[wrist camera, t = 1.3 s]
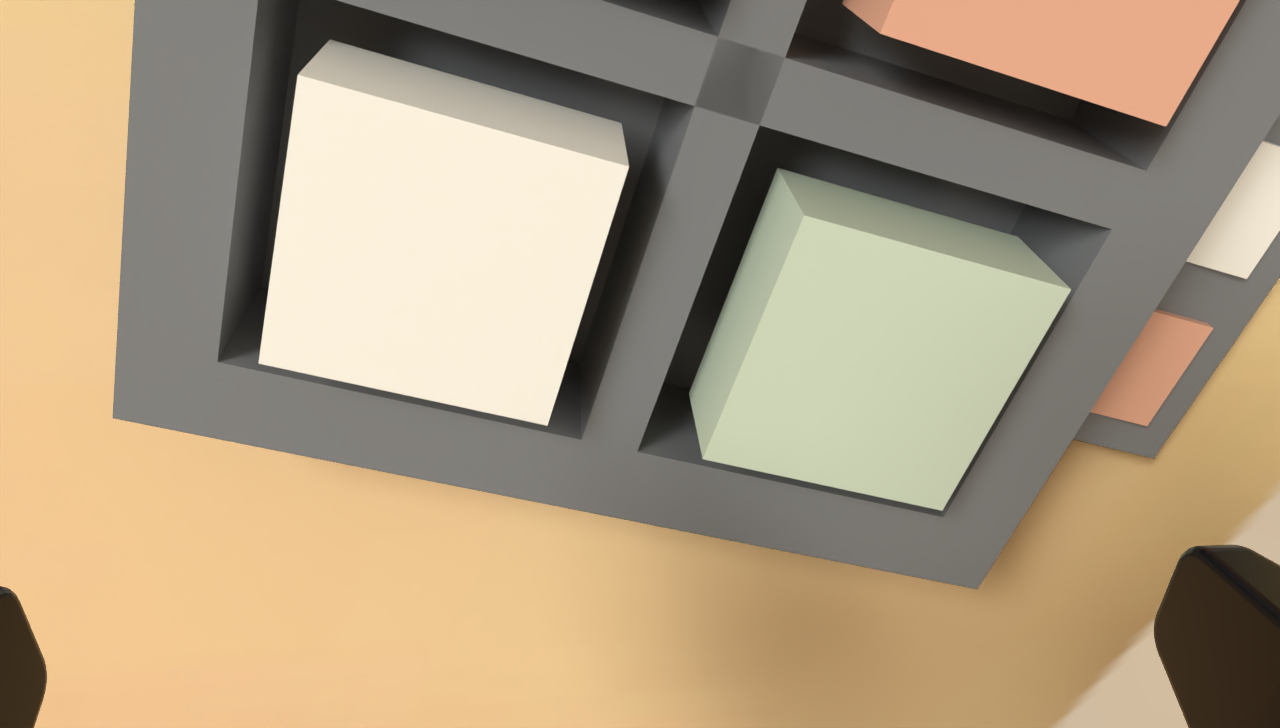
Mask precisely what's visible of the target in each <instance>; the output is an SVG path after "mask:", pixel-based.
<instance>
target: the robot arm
mask: <svg viewBox="0 0 1280 728" xmlns="http://www.w3.org/2000/svg"><path fill="white" fill-rule="evenodd" d="M1154 638H1155V643H1156V647H1157V650H1158V653H1159V656H1160V658H1161V661H1162V663H1163V665H1164V668H1165V670H1166V673H1167V675H1168V678H1169V680H1170V683H1171V685H1172V688H1173V690H1174V693H1175V695H1176V698H1177V700H1178V703H1179V705H1180V707H1181V710H1182V712H1183V715H1184V717H1185V720H1186V722H1187V724H1188V727H1189V728H1280V565H1278V564H1276V563H1274V562H1273V561H1271V560H1269V559H1267V558H1265V557H1264V556H1262V555H1260V554H1258V553H1256V552H1255V551H1253V550H1251V549H1249V548H1246V547H1243V546H1238V545H1213V546H1195V547H1192V548H1189V549H1188V550H1187V551H1186V552H1185V553H1184V554H1182V555H1181V557H1180V559H1179V561H1178V563H1177V566H1176V568H1175V570H1174V573H1173V575H1172V578H1171V580H1170V583H1169V585H1168V588H1167V590H1166V593H1165V595H1164V597H1163V600H1162V602H1161V605H1160V607H1159V610H1158V612H1157V615H1156V618H1155V623H1154ZM46 683H47V671H46V665H45V661H44V658H43V655H42V653H41V651H40V648H39V646H38V643H37V641H36V639H35V636H34V634H33V632H32V629H31V627H30V624H29V622H28V620H27V617H26V615H25V613H24V610H23V608H22V606H21V603H20V601H19V599H18V597H17V596H16V594H15V593H13V592H12V591H11V590H10V589H8V588H6V587H1V586H0V728H34V726H35V723H36V720H37V717H38V713H39V710H40V707H41V704H42V701H43V698H44V694H45V689H46Z"/></svg>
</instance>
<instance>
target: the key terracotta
mask: <svg viewBox="0 0 1280 728" xmlns="http://www.w3.org/2000/svg"><path fill="white" fill-rule="evenodd" d="M1239 1H1240V0H843V2H842V4H843V5H844V6H845V7H847V8H848V9H849V10H851V11H852V12H853V13H854V14H856V15H857V16H858V17H859V18H861V19H862V20H863V21H865V22H866V23H867V24H868V25H870V26H871V27H872V28H874V29H875V30H876V31H877V32H879V33H880V34H883V35H886V36H889V37H892V38H895V39H898V40H901V41H904V42H907V43H910V44H914V45H917V46H920V47H923V48H926V49H929V50H932V51H935V52H938V53H941V54H944V55H947V56H950V57H953V58H957V59H960V60H963V61H966V62H969V63H972V64H975V65H978V66H981V67H984V68H987V69H990V70H993V71H996V72H1000V73H1003V74H1006V75H1009V76H1012V77H1015V78H1018V79H1021V80H1024V81H1027V82H1030V83H1033V84H1036V85H1039V86H1043V87H1046V88H1049V89H1052V90H1055V91H1058V92H1061V93H1064V94H1067V95H1070V96H1073V97H1076V98H1079V99H1082V100H1085V101H1089V102H1092V103H1095V104H1098V105H1101V106H1104V107H1107V108H1110V109H1113V110H1116V111H1119V112H1122V113H1125V114H1128V115H1132V116H1135V117H1138V118H1141V119H1144V120H1147V121H1150V122H1153V123H1156V124H1159V125H1162V126H1165V127H1166V126H1167V124H1168V123H1169V121H1170V119H1171V118H1172V116H1173V114H1174V112H1175V111H1176V109H1177V107H1178V105H1179V104H1180V102H1181V100H1182V99H1183V97H1184V95H1185V93H1186V92H1187V90H1188V88H1189V87H1190V85H1191V83H1192V81H1193V80H1194V78H1195V76H1196V75H1197V73H1198V71H1199V69H1200V68H1201V66H1202V64H1203V63H1204V61H1205V59H1206V57H1207V56H1208V54H1209V52H1210V51H1211V49H1212V47H1213V45H1214V44H1215V42H1216V40H1217V39H1218V37H1219V35H1220V33H1221V32H1222V30H1223V28H1224V27H1225V25H1226V23H1227V21H1228V20H1229V18H1230V16H1231V15H1232V13H1233V11H1234V9H1235V8H1236V6H1237V4H1238V3H1239Z"/></svg>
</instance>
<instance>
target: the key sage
mask: <svg viewBox="0 0 1280 728" xmlns="http://www.w3.org/2000/svg"><path fill="white" fill-rule="evenodd" d="M1070 291H1071V289H1070V288H1069V287H1068V286H1067V285H1066V284H1065V283H1064V282H1063V281H1062V280H1061V279H1060V278H1059V277H1058V276H1057V275H1056V274H1055V273H1054V272H1053V271H1052V270H1051V269H1050V268H1049V267H1048V266H1047V265H1046V264H1045V263H1044V262H1043V261H1042V260H1041V259H1040V258H1039V257H1038V256H1037V255H1036V254H1035V253H1034V252H1033V251H1032V250H1031V249H1030V248H1029V247H1028V246H1027V245H1026V244H1025V243H1024V242H1023V241H1022V240H1021V239H1020V238H1019V237H1017V236H1014V235H1010V234H1007V233H1003V232H1000V231H996V230H993V229H989V228H986V227H982V226H979V225H975V224H972V223H968V222H965V221H961V220H958V219H954V218H951V217H947V216H944V215H940V214H937V213H933V212H930V211H926V210H923V209H920V208H916V207H913V206H909V205H906V204H902V203H899V202H895V201H892V200H888V199H885V198H881V197H878V196H874V195H871V194H867V193H864V192H860V191H857V190H853V189H850V188H846V187H843V186H839V185H836V184H832V183H829V182H825V181H822V180H818V179H815V178H811V177H808V176H804V175H801V174H797V173H794V172H790V171H787V170H784V169H780V168H777V170H776V173H775V175H774V178H773V181H772V183H771V186H770V188H769V191H768V193H767V196H766V198H765V201H764V203H763V206H762V209H761V211H760V214H759V216H758V219H757V221H756V224H755V226H754V229H753V231H752V234H751V237H750V239H749V242H748V244H747V247H746V249H745V252H744V254H743V257H742V259H741V262H740V265H739V267H738V270H737V272H736V275H735V277H734V280H733V282H732V285H731V287H730V290H729V293H728V295H727V298H726V300H725V303H724V305H723V308H722V310H721V313H720V315H719V318H718V321H717V323H716V326H715V328H714V331H713V333H712V336H711V338H710V341H709V343H708V346H707V349H706V351H705V354H704V356H703V359H702V361H701V364H700V366H699V369H698V371H697V374H696V377H695V379H694V382H693V384H692V387H691V389H690V392H689V396H690V401H691V406H692V411H693V416H694V420H695V425H696V430H697V435H698V439H699V444H700V449H701V454H702V459H704V460H709V461H714V462H718V463H723V464H727V465H732V466H737V467H741V468H746V469H751V470H755V471H760V472H765V473H769V474H774V475H779V476H783V477H788V478H792V479H797V480H802V481H806V482H811V483H816V484H820V485H825V486H830V487H834V488H839V489H844V490H848V491H853V492H857V493H862V494H867V495H871V496H876V497H881V498H885V499H890V500H895V501H899V502H904V503H909V504H913V505H918V506H922V507H927V508H932V509H936V510H941V511H942V510H943V509H944V507H945V505H946V504H947V502H948V500H949V498H950V497H951V495H952V493H953V492H954V490H955V488H956V486H957V485H958V483H959V481H960V480H961V478H962V476H963V474H964V473H965V471H966V469H967V468H968V466H969V464H970V462H971V461H972V459H973V457H974V456H975V454H976V452H977V450H978V449H979V447H980V445H981V444H982V442H983V440H984V438H985V437H986V435H987V433H988V431H989V430H990V428H991V426H992V425H993V423H994V421H995V419H996V418H997V416H998V414H999V413H1000V411H1001V409H1002V407H1003V406H1004V404H1005V402H1006V401H1007V399H1008V397H1009V395H1010V394H1011V392H1012V390H1013V389H1014V387H1015V385H1016V383H1017V382H1018V380H1019V378H1020V377H1021V375H1022V373H1023V371H1024V370H1025V368H1026V366H1027V365H1028V363H1029V361H1030V359H1031V358H1032V356H1033V354H1034V353H1035V351H1036V349H1037V347H1038V346H1039V344H1040V342H1041V341H1042V339H1043V337H1044V335H1045V334H1046V332H1047V330H1048V329H1049V327H1050V325H1051V323H1052V322H1053V320H1054V318H1055V317H1056V315H1057V313H1058V311H1059V310H1060V308H1061V306H1062V305H1063V303H1064V301H1065V299H1066V298H1067V296H1068V294H1069V293H1070Z"/></svg>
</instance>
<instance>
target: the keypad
mask: <svg viewBox="0 0 1280 728" xmlns="http://www.w3.org/2000/svg"><path fill="white" fill-rule="evenodd" d="M842 2H843V0H135V11H134V29H133V48H132V67H131V86H130V104H129V123H128V142H127V160H126V179H125V198H124V216H123V235H122V254H121V273H120V291H119V310H118V329H117V347H116V366H115V385H114V404H113V418H115V419H120V420H125V421H130V422H135V423H140V424H145V425H150V426H155V427H160V428H165V429H170V430H175V431H180V432H185V433H190V434H195V435H200V436H205V437H210V438H216V439H221V440H226V441H231V442H236V443H241V444H246V445H251V446H256V447H261V448H266V449H271V450H276V451H281V452H286V453H291V454H296V455H301V456H306V457H311V458H316V459H322V460H327V461H332V462H337V463H342V464H347V465H352V466H357V467H362V468H367V469H372V470H377V471H382V472H387V473H392V474H397V475H402V476H407V477H412V478H417V479H423V480H428V481H433V482H438V483H443V484H448V485H453V486H458V487H463V488H468V489H473V490H478V491H483V492H488V493H493V494H498V495H503V496H508V497H513V498H518V499H523V500H529V501H534V502H539V503H544V504H549V505H554V506H559V507H564V508H569V509H574V510H579V511H584V512H589V513H594V514H599V515H604V516H609V517H614V518H619V519H624V520H630V521H635V522H640V523H645V524H650V525H655V526H660V527H665V528H670V529H675V530H680V531H685V532H690V533H695V534H700V535H705V536H710V537H715V538H720V539H725V540H730V541H736V542H741V543H746V544H751V545H756V546H761V547H766V548H771V549H776V550H781V551H786V552H791V553H796V554H801V555H806V556H811V557H816V558H821V559H826V560H831V561H836V562H842V563H847V564H852V565H857V566H862V567H867V568H872V569H877V570H882V571H887V572H892V573H897V574H902V575H907V576H912V577H917V578H922V579H927V580H932V581H937V582H943V583H948V584H953V585H958V586H963V587H968V588H973V589H978V587H979V586H980V584H981V583H982V581H983V579H984V578H985V576H986V575H987V573H988V572H989V570H990V568H991V567H992V565H993V564H994V562H995V561H996V559H997V557H998V556H999V554H1000V553H1001V551H1002V550H1003V548H1004V546H1005V545H1006V543H1007V542H1008V540H1009V539H1010V537H1011V535H1012V534H1013V532H1014V531H1015V529H1016V528H1017V526H1018V524H1019V523H1020V521H1021V520H1022V518H1023V517H1024V515H1025V513H1026V512H1027V510H1028V509H1029V507H1030V506H1031V504H1032V502H1033V501H1034V499H1035V498H1036V496H1037V495H1038V493H1039V491H1040V490H1041V488H1042V487H1043V485H1044V484H1045V482H1046V480H1047V479H1048V477H1049V476H1050V474H1051V473H1052V471H1053V469H1054V468H1055V466H1056V465H1057V463H1058V462H1059V460H1060V458H1061V457H1062V455H1063V454H1064V452H1065V451H1066V449H1067V447H1068V446H1069V444H1070V443H1071V441H1072V440H1073V439H1074V440H1078V441H1082V442H1086V443H1091V444H1095V445H1099V446H1103V447H1107V448H1111V449H1116V450H1120V451H1124V452H1128V453H1132V454H1136V455H1141V456H1145V457H1149V458H1153V459H1154V457H1155V456H1156V455H1157V453H1158V452H1159V450H1160V449H1161V447H1162V446H1163V445H1164V443H1165V442H1166V440H1167V439H1168V437H1169V436H1170V434H1171V433H1172V432H1173V430H1174V429H1175V427H1176V426H1177V424H1178V423H1179V421H1180V420H1181V419H1182V417H1183V416H1184V414H1185V413H1186V411H1187V410H1188V408H1189V407H1190V406H1191V404H1192V403H1193V401H1194V400H1195V398H1196V397H1197V396H1198V394H1199V393H1200V391H1201V390H1202V388H1203V387H1204V385H1205V384H1206V383H1207V381H1208V380H1209V378H1210V377H1211V375H1212V374H1213V372H1214V371H1215V370H1216V368H1217V367H1218V365H1219V364H1220V362H1221V361H1222V359H1223V358H1224V357H1225V355H1226V354H1227V352H1228V351H1229V349H1230V348H1231V347H1232V345H1233V344H1234V342H1235V341H1236V339H1237V338H1238V336H1239V335H1240V334H1241V332H1242V331H1243V329H1244V328H1245V326H1246V325H1247V323H1248V322H1249V321H1250V319H1251V318H1252V316H1253V315H1254V313H1255V312H1256V310H1257V309H1258V308H1259V306H1260V305H1261V303H1262V302H1263V300H1264V299H1265V298H1266V296H1267V295H1268V293H1269V292H1270V290H1271V289H1272V287H1273V286H1274V285H1275V283H1276V282H1277V280H1278V279H1279V277H1280V0H1240V1H1239V3H1238V4H1237V6H1236V8H1235V9H1234V11H1233V13H1232V15H1231V16H1230V18H1229V20H1228V21H1227V23H1226V25H1225V27H1224V28H1223V30H1222V32H1221V33H1220V35H1219V37H1218V39H1217V40H1216V42H1215V44H1214V45H1213V47H1212V49H1211V51H1210V52H1209V54H1208V56H1207V57H1206V59H1205V61H1204V63H1203V64H1202V66H1201V68H1200V69H1199V71H1198V73H1197V75H1196V76H1195V78H1194V80H1193V81H1192V83H1191V85H1190V87H1189V88H1188V90H1187V92H1186V93H1185V95H1184V97H1183V99H1182V100H1181V102H1180V104H1179V105H1178V107H1177V109H1176V111H1175V112H1174V114H1173V116H1172V118H1171V119H1170V121H1169V123H1168V124H1167V126H1166V127H1165V126H1162V125H1159V124H1156V123H1153V122H1150V121H1147V120H1144V119H1141V118H1138V117H1135V116H1132V115H1128V114H1125V113H1122V112H1119V111H1116V110H1113V109H1110V108H1107V107H1104V106H1101V105H1098V104H1095V103H1092V102H1089V101H1085V100H1082V99H1079V98H1076V97H1073V96H1070V95H1067V94H1064V93H1061V92H1058V91H1055V90H1052V89H1049V88H1046V87H1043V86H1039V85H1036V84H1033V83H1030V82H1027V81H1024V80H1021V79H1018V78H1015V77H1012V76H1009V75H1006V74H1003V73H1000V72H996V71H993V70H990V69H987V68H984V67H981V66H978V65H975V64H972V63H969V62H966V61H963V60H960V59H957V58H953V57H950V56H947V55H944V54H941V53H938V52H935V51H932V50H929V49H926V48H923V47H920V46H917V45H914V44H910V43H907V42H904V41H901V40H898V39H895V38H892V37H889V36H886V35H883V34H880V33H879V32H877V31H876V30H875V29H874V28H872V27H871V26H870V25H868V24H867V23H866V22H865V21H863V20H862V19H861V18H859V17H858V16H857V15H856V14H854V13H853V12H852V11H851V10H849V9H848V8H847V7H845V6H844V5H843V4H842ZM329 40H334V41H337V42H341V43H344V44H348V45H351V46H355V47H358V48H362V49H365V50H369V51H372V52H376V53H379V54H383V55H386V56H389V57H393V58H396V59H400V60H403V61H407V62H410V63H414V64H417V65H421V66H424V67H428V68H431V69H435V70H438V71H442V72H445V73H449V74H452V75H456V76H459V77H463V78H466V79H470V80H473V81H477V82H480V83H484V84H487V85H491V86H494V87H498V88H501V89H505V90H508V91H512V92H515V93H519V94H522V95H525V96H529V97H532V98H536V99H539V100H543V101H546V102H550V103H553V104H557V105H560V106H564V107H567V108H571V109H574V110H578V111H581V112H585V113H588V114H592V115H595V116H599V117H602V118H606V119H609V120H613V121H616V122H620V123H622V129H623V135H624V140H625V146H626V152H627V157H628V163H629V169H628V172H627V175H626V178H625V182H624V185H623V188H622V191H621V194H620V197H619V201H618V204H617V207H616V210H615V213H614V216H613V220H612V223H611V226H610V229H609V232H608V235H607V239H606V242H605V245H604V248H603V251H602V254H601V258H600V261H599V264H598V267H597V270H596V273H595V277H594V280H593V283H592V286H591V289H590V293H589V296H588V299H587V302H586V305H585V308H584V312H583V315H582V318H581V321H580V324H579V327H578V331H577V334H576V337H575V340H574V343H573V346H572V350H571V353H570V356H569V359H568V362H567V365H566V369H565V372H564V375H563V378H562V381H561V384H560V388H559V391H558V394H557V397H556V400H555V403H554V407H553V410H552V413H551V416H550V419H549V423H548V426H546V425H542V424H537V423H532V422H528V421H523V420H519V419H514V418H509V417H505V416H500V415H495V414H491V413H486V412H481V411H477V410H472V409H467V408H463V407H458V406H454V405H449V404H444V403H440V402H435V401H430V400H426V399H421V398H416V397H412V396H407V395H402V394H398V393H393V392H389V391H384V390H379V389H375V388H370V387H365V386H361V385H356V384H351V383H347V382H342V381H337V380H333V379H328V378H324V377H319V376H314V375H310V374H305V373H300V372H296V371H291V370H286V369H282V368H277V367H272V366H268V365H263V364H259V363H258V362H259V355H260V348H261V340H262V333H263V326H264V318H265V311H266V304H267V296H268V289H269V281H270V274H271V267H272V259H273V252H274V245H275V237H276V230H277V223H278V215H279V208H280V201H281V193H282V186H283V179H284V171H285V164H286V157H287V149H288V142H289V135H290V127H291V120H292V113H293V105H294V98H295V91H296V83H297V76H298V74H299V73H300V72H301V71H302V69H303V68H304V67H305V66H306V65H307V64H308V63H309V62H310V61H311V60H312V58H313V57H314V56H315V55H316V54H317V53H318V52H319V51H320V50H321V49H322V47H323V46H324V45H325V44H326V43H327V42H328V41H329ZM777 168H780V169H784V170H787V171H790V172H794V173H797V174H801V175H804V176H808V177H811V178H815V179H818V180H822V181H825V182H829V183H832V184H836V185H839V186H843V187H846V188H850V189H853V190H857V191H860V192H864V193H867V194H871V195H874V196H878V197H881V198H885V199H888V200H892V201H895V202H899V203H902V204H906V205H909V206H913V207H916V208H920V209H923V210H926V211H930V212H933V213H937V214H940V215H944V216H947V217H951V218H954V219H958V220H961V221H965V222H968V223H972V224H975V225H979V226H982V227H986V228H989V229H993V230H996V231H1000V232H1003V233H1007V234H1010V235H1014V236H1017V237H1019V238H1020V239H1021V240H1022V241H1023V242H1024V243H1025V244H1026V245H1027V246H1028V247H1029V248H1030V249H1031V250H1032V251H1033V252H1034V253H1035V254H1036V255H1037V256H1038V257H1039V258H1040V259H1041V260H1042V261H1043V262H1044V263H1045V264H1046V265H1047V266H1048V267H1049V268H1050V269H1051V270H1052V271H1053V272H1054V273H1055V274H1056V275H1057V276H1058V277H1059V278H1060V279H1061V280H1062V281H1063V282H1064V283H1065V284H1066V285H1067V286H1068V287H1069V288H1070V289H1071V291H1070V293H1069V294H1068V296H1067V298H1066V299H1065V301H1064V303H1063V305H1062V306H1061V308H1060V310H1059V311H1058V313H1057V315H1056V317H1055V318H1054V320H1053V322H1052V323H1051V325H1050V327H1049V329H1048V330H1047V332H1046V334H1045V335H1044V337H1043V339H1042V341H1041V342H1040V344H1039V346H1038V347H1037V349H1036V351H1035V353H1034V354H1033V356H1032V358H1031V359H1030V361H1029V363H1028V365H1027V366H1026V368H1025V370H1024V371H1023V373H1022V375H1021V377H1020V378H1019V380H1018V382H1017V383H1016V385H1015V387H1014V389H1013V390H1012V392H1011V394H1010V395H1009V397H1008V399H1007V401H1006V402H1005V404H1004V406H1003V407H1002V409H1001V411H1000V413H999V414H998V416H997V418H996V419H995V421H994V423H993V425H992V426H991V428H990V430H989V431H988V433H987V435H986V437H985V438H984V440H983V442H982V444H981V445H980V447H979V449H978V450H977V452H976V454H975V456H974V457H973V459H972V461H971V462H970V464H969V466H968V468H967V469H966V471H965V473H964V474H963V476H962V478H961V480H960V481H959V483H958V485H957V486H956V488H955V490H954V492H953V493H952V495H951V497H950V498H949V500H948V502H947V504H946V505H945V507H944V509H943V510H942V511H941V510H936V509H932V508H927V507H922V506H918V505H913V504H909V503H904V502H899V501H895V500H890V499H885V498H881V497H876V496H871V495H867V494H862V493H857V492H853V491H848V490H844V489H839V488H834V487H830V486H825V485H820V484H816V483H811V482H806V481H802V480H797V479H792V478H788V477H783V476H779V475H774V474H769V473H765V472H760V471H755V470H751V469H746V468H741V467H737V466H732V465H727V464H723V463H718V462H714V461H709V460H704V459H702V454H701V449H700V444H699V439H698V435H697V430H696V425H695V420H694V416H693V411H692V406H691V401H690V396H689V392H690V389H691V387H692V384H693V382H694V379H695V377H696V374H697V371H698V369H699V366H700V364H701V361H702V359H703V356H704V354H705V351H706V349H707V346H708V343H709V341H710V338H711V336H712V333H713V331H714V328H715V326H716V323H717V321H718V318H719V315H720V313H721V310H722V308H723V305H724V303H725V300H726V298H727V295H728V293H729V290H730V287H731V285H732V282H733V280H734V277H735V275H736V272H737V270H738V267H739V265H740V262H741V259H742V257H743V254H744V252H745V249H746V247H747V244H748V242H749V239H750V237H751V234H752V231H753V229H754V226H755V224H756V221H757V219H758V216H759V214H760V211H761V209H762V206H763V203H764V201H765V198H766V196H767V193H768V191H769V188H770V186H771V183H772V181H773V178H774V175H775V173H776V170H777Z"/></svg>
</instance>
